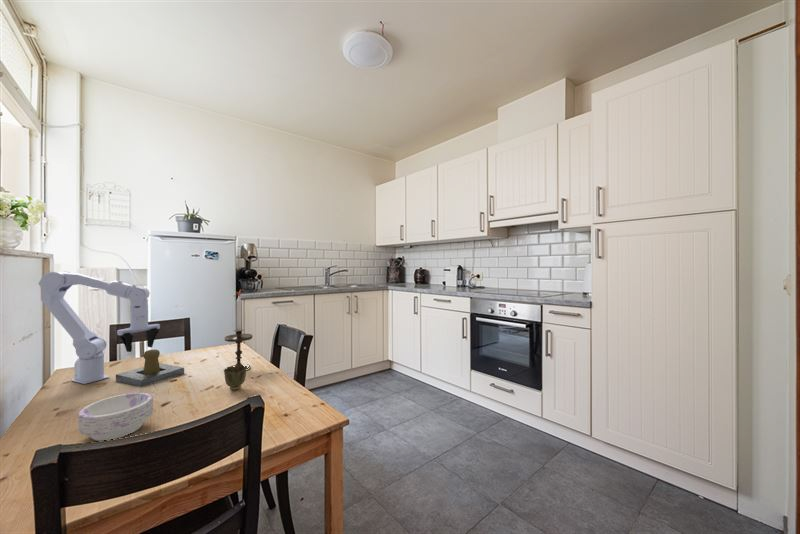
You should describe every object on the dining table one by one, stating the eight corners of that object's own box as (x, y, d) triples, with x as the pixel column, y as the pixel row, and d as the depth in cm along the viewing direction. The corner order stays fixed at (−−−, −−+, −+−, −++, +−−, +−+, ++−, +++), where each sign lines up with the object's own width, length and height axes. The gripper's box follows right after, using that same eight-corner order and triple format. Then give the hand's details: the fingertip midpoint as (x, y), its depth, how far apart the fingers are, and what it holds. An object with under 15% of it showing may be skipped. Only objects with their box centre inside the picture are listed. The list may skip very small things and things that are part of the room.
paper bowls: (61, 444, 81) (61, 413, 81) (122, 416, 96) (122, 390, 96) (111, 450, 78) (111, 418, 78) (166, 421, 93) (166, 394, 93)
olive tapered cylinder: (150, 380, 126) (150, 352, 126) (138, 379, 127) (138, 351, 127) (164, 375, 132) (164, 348, 131) (152, 374, 133) (153, 347, 133)
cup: (223, 395, 112) (223, 372, 112) (223, 388, 119) (224, 366, 119) (247, 391, 116) (247, 369, 116) (246, 384, 122) (246, 363, 122)
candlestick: (244, 364, 147) (244, 287, 147) (257, 368, 141) (257, 289, 141) (219, 370, 139) (220, 289, 138) (232, 375, 132) (232, 290, 132)
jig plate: (115, 380, 125) (115, 374, 125) (159, 368, 140) (159, 362, 140) (140, 387, 119) (140, 380, 119) (184, 373, 134) (184, 367, 134)
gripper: (124, 319, 124) (124, 354, 124) (164, 314, 138) (164, 345, 138) (113, 318, 127) (114, 352, 127) (153, 313, 140) (154, 344, 140)
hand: (139, 349), depth 133 cm, fingers open, 7 cm apart
